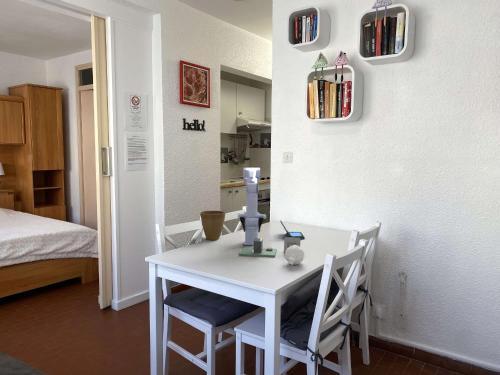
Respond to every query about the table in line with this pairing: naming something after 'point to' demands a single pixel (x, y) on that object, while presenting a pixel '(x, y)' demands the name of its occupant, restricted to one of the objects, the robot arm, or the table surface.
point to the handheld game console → (293, 233)
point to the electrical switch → (291, 242)
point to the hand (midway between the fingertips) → (251, 231)
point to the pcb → (265, 253)
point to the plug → (258, 245)
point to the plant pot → (212, 223)
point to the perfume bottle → (294, 254)
